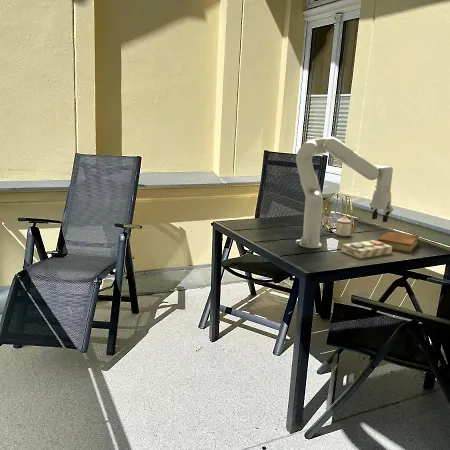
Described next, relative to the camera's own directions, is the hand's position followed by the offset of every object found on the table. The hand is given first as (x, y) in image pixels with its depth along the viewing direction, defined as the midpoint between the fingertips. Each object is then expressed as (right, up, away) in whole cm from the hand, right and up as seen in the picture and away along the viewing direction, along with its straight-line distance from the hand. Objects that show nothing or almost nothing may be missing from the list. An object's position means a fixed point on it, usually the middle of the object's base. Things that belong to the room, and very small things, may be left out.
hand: (379, 220), depth 246 cm
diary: (+16, -15, +16) cm, 28 cm away
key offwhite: (-7, -15, 0) cm, 17 cm away
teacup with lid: (-11, -9, +37) cm, 40 cm away
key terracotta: (0, -15, +4) cm, 15 cm away
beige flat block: (-7, -18, +1) cm, 19 cm away
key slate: (-14, -16, -3) cm, 21 cm away
